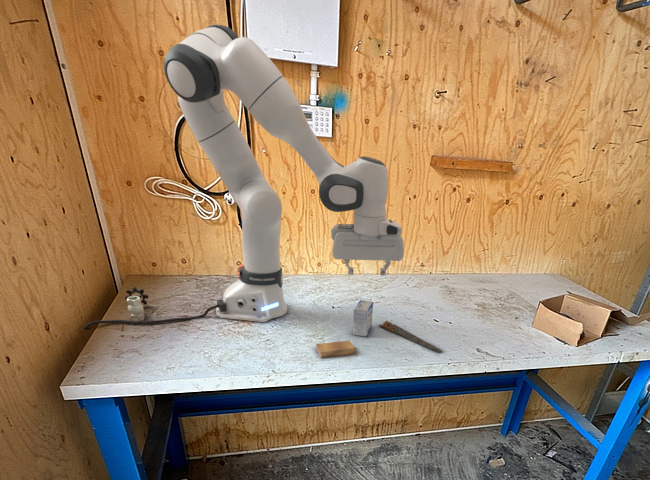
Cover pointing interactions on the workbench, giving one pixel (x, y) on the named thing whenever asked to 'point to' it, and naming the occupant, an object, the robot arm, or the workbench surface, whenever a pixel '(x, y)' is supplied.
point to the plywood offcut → (335, 349)
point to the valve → (136, 304)
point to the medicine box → (362, 318)
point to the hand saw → (407, 335)
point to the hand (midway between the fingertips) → (366, 274)
